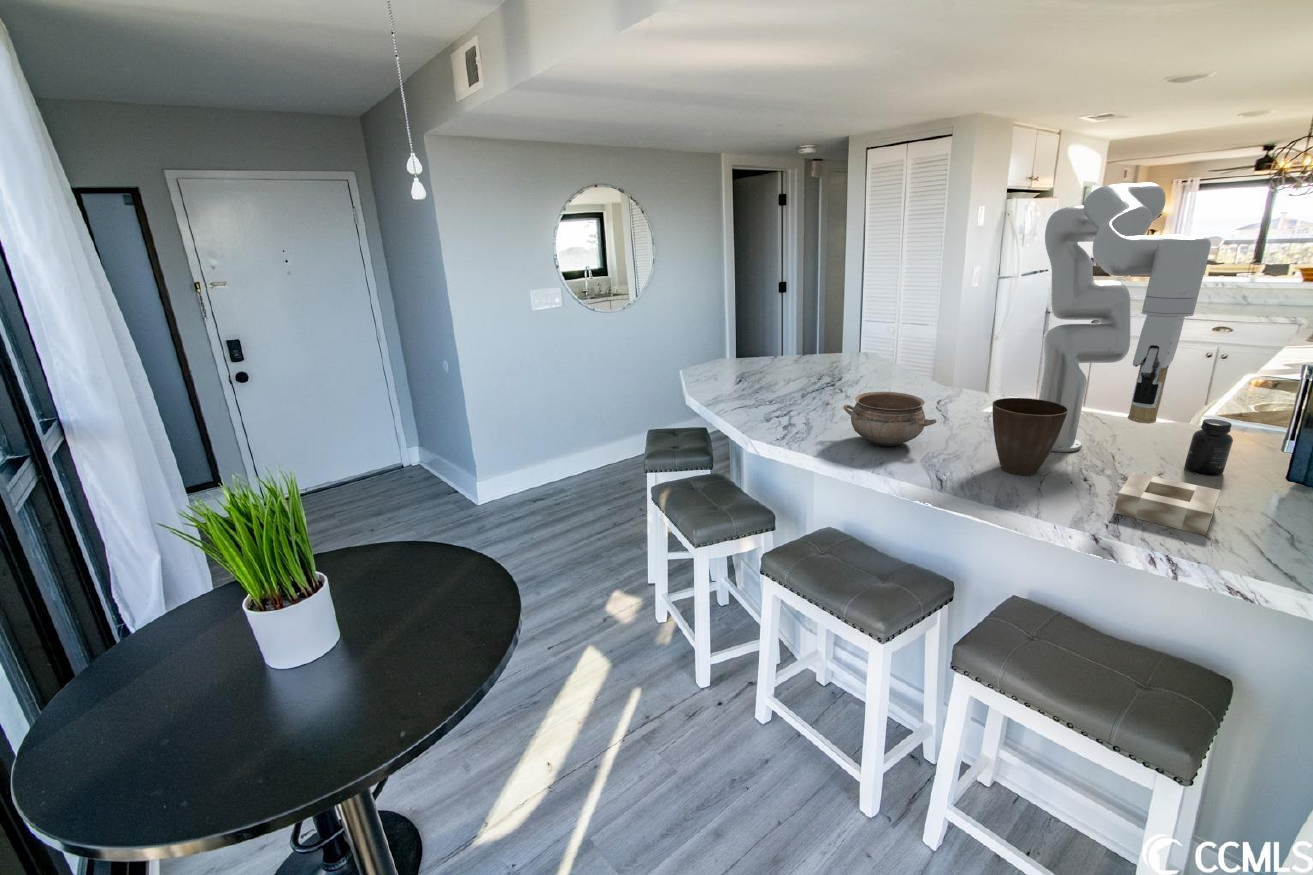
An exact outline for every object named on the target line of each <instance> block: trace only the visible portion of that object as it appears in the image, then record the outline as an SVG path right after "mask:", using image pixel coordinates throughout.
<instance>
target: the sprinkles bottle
mask: <svg viewBox="0 0 1313 875" xmlns="http://www.w3.org/2000/svg"><path fill="white" fill-rule="evenodd" d="M1157 356H1158V355H1157ZM1171 359H1172V358H1171ZM1142 362H1144V360H1143V361H1142ZM1171 363H1172V362H1171V360H1170V362H1169V364H1168V365H1167V367H1165V368H1163V369H1161V371H1160V374H1159V378H1158V381H1157V384H1159V385H1158V389H1157V393H1156V398H1155V402H1154V404H1152V405H1149V404H1142V403H1135V402H1133V398H1134V394H1135V390H1136V385H1137V382H1138V380H1139V376H1140V372H1141V369H1142V365H1143V363H1141V364H1140V365H1139V370H1138V375H1137V377H1136V381H1135V386H1134V391H1133V394H1132V399H1131V405H1130V409H1129V413H1128V415H1127V420H1129V421H1131V422H1134V423H1137V424H1146V425H1147V424H1154V423H1156V422H1157V416H1158V411H1159V408H1160V406H1161V402H1162V397H1163V394H1164V387H1165V383H1166V379H1167V373H1168V370H1169V367H1170V366H1171ZM1153 368H1158V365H1155V364H1154V366H1153ZM1152 372H1154V374H1155V372H1156V371H1152ZM1154 376H1155V375H1154Z"/></svg>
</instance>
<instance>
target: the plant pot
mask: <svg viewBox="0 0 1313 875" xmlns="http://www.w3.org/2000/svg"><path fill="white" fill-rule="evenodd" d="M1067 412H1068V409H1067V408H1066V407H1065V406H1063V405H1060V404H1057V403H1054V402H1050V401H1045V400H1039V398H1038V399H1037V398H1028V397H1027V398H1026V397H1006V398H999V399H996V400H993V402H992V427H993V429H992V430H993V437H994V443H995V448H996V452H997V456H998V461H999V464H1000V468H1001V470H1003V471H1004V472H1006V473H1008V474H1012V475H1015V476H1033V475H1036V474H1037V473H1038V472H1039V470H1040V469H1041V467H1042V466H1043V464H1044V463H1045V461H1046V460H1047V458H1048V456H1049V455H1050V453H1051V452H1052V451H1051V449H1052V447H1053V446H1054V444H1055V442H1056V440H1057V438H1058V435H1059V433H1060V431H1061V428H1062V426H1063V423H1064V420H1065V418H1066V415H1067Z"/></svg>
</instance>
